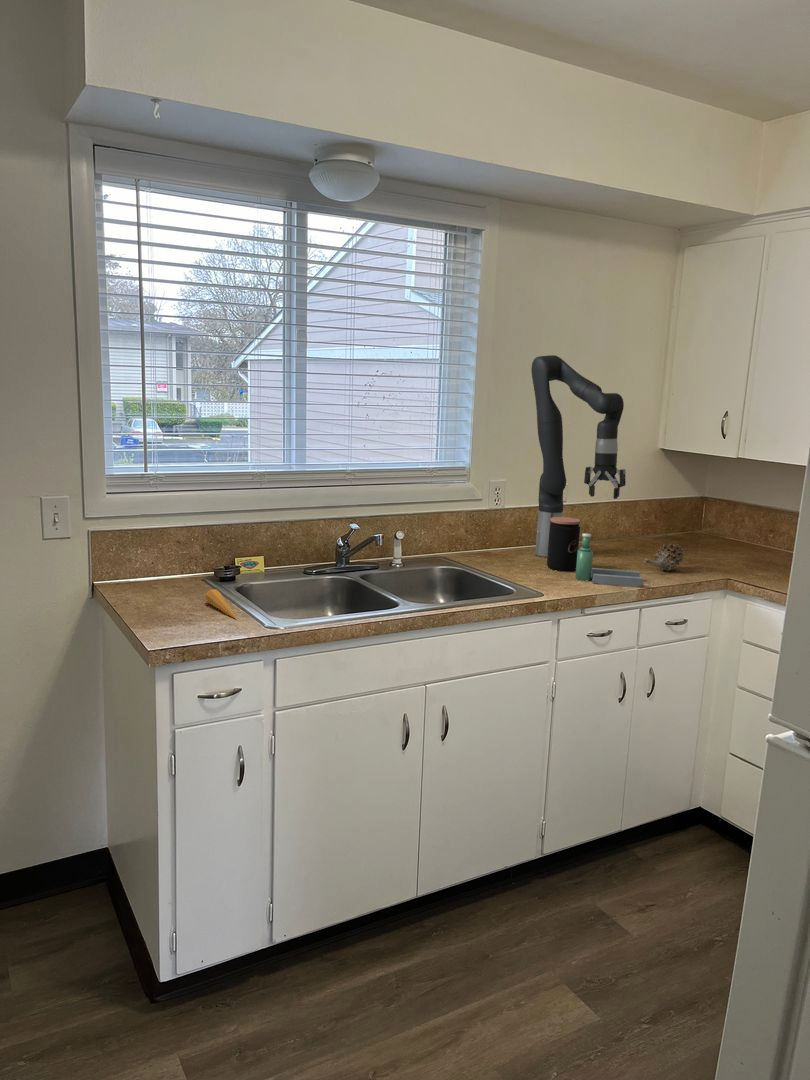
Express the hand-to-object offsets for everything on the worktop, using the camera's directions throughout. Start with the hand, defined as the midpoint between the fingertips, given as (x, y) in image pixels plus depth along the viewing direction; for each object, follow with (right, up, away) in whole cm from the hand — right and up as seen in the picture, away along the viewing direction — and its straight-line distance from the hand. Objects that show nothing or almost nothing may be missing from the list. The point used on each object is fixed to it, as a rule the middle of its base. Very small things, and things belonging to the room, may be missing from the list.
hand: (603, 497), depth 290 cm
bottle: (-9, -28, -9) cm, 31 cm away
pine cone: (+23, -27, +8) cm, 36 cm away
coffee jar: (-14, -25, +6) cm, 30 cm away
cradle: (+2, -29, -10) cm, 31 cm away
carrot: (-120, -35, -62) cm, 140 cm away
